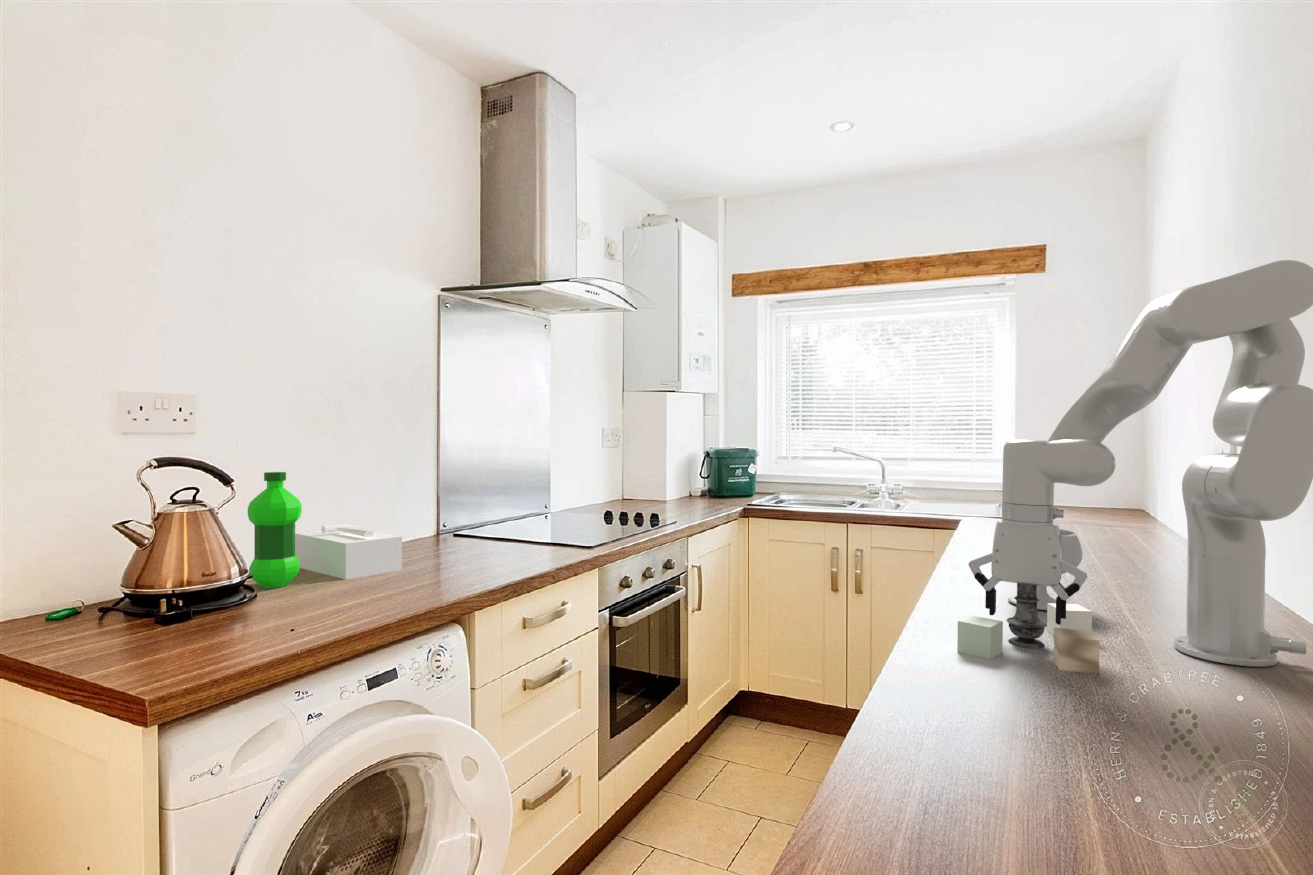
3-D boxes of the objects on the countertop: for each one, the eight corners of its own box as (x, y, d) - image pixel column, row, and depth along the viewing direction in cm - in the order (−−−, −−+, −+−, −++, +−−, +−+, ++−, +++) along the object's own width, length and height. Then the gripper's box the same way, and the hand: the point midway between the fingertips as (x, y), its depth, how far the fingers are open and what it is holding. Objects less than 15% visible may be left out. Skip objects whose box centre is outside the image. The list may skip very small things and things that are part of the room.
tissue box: (349, 559, 188) (349, 518, 188) (402, 571, 173) (402, 526, 173) (294, 567, 177) (294, 524, 177) (345, 580, 162) (345, 533, 161)
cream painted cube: (1077, 632, 122) (1077, 604, 122) (1091, 641, 117) (1092, 611, 117) (1047, 631, 123) (1047, 603, 123) (1060, 639, 118) (1060, 610, 118)
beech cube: (1091, 664, 106) (1091, 631, 106) (1098, 674, 101) (1099, 640, 101) (1053, 660, 107) (1054, 627, 107) (1059, 670, 103) (1059, 636, 103)
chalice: (1066, 617, 132) (1067, 538, 132) (991, 603, 142) (991, 530, 142) (1092, 606, 141) (1092, 531, 141) (1019, 593, 151) (1019, 524, 151)
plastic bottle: (286, 590, 150) (286, 474, 150) (237, 590, 150) (237, 473, 150) (310, 580, 160) (310, 471, 160) (264, 580, 160) (264, 471, 160)
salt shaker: (1052, 650, 112) (1052, 575, 112) (1012, 647, 113) (1012, 573, 113) (1039, 639, 118) (1040, 568, 118) (1002, 637, 119) (1002, 566, 119)
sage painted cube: (1002, 652, 111) (1002, 621, 111) (990, 659, 107) (990, 627, 107) (970, 645, 114) (970, 615, 114) (957, 652, 111) (957, 620, 111)
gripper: (1088, 516, 114) (1085, 621, 114) (972, 508, 123) (970, 605, 123) (1089, 521, 108) (1086, 632, 108) (967, 512, 117) (964, 614, 117)
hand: (1024, 617), depth 116 cm, fingers open, 9 cm apart
